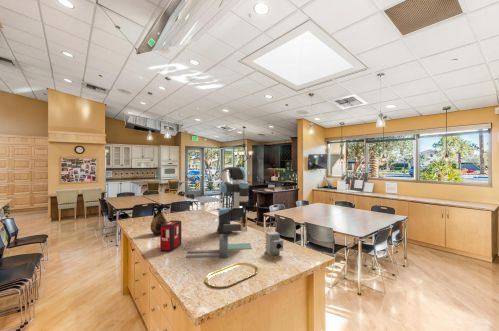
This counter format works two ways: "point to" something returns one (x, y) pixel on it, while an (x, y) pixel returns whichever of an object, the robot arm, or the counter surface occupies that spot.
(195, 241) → the counter surface
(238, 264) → the gold oval ring
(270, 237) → the circuit breaker
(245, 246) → the mat
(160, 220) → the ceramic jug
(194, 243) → the counter surface
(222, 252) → the housing
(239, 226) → the plug
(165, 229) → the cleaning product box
